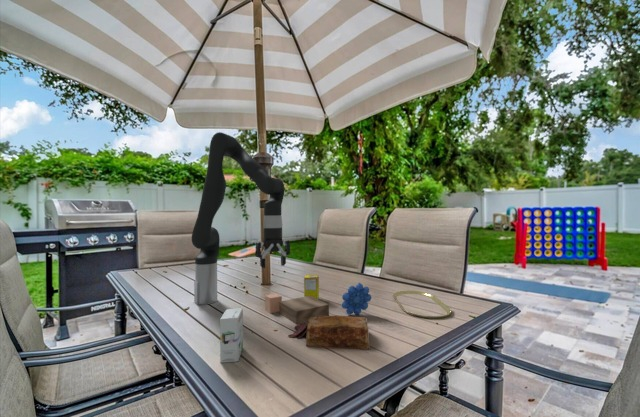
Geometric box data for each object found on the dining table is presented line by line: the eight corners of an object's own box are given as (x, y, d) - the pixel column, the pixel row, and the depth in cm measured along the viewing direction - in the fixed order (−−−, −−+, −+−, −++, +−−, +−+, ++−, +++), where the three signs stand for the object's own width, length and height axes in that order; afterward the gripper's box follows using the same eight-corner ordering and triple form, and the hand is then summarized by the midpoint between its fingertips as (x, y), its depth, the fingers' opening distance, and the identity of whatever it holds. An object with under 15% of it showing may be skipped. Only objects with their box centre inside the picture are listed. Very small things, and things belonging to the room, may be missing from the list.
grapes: (368, 310, 119) (368, 280, 119) (373, 316, 112) (372, 284, 113) (340, 311, 118) (339, 281, 118) (342, 317, 111) (342, 285, 112)
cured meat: (293, 325, 105) (293, 305, 105) (364, 326, 103) (364, 306, 103) (283, 349, 87) (283, 326, 87) (369, 352, 85) (369, 328, 85)
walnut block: (296, 325, 105) (296, 311, 105) (279, 314, 117) (279, 301, 117) (328, 317, 113) (328, 304, 113) (309, 307, 124) (309, 295, 124)
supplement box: (319, 298, 136) (318, 274, 136) (317, 302, 130) (317, 277, 130) (306, 298, 137) (306, 274, 137) (304, 302, 131) (304, 277, 131)
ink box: (226, 348, 87) (226, 308, 87) (243, 347, 88) (243, 307, 88) (219, 363, 79) (219, 318, 79) (238, 362, 79) (238, 317, 79)
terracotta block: (270, 313, 117) (270, 298, 117) (265, 310, 121) (265, 295, 121) (281, 311, 119) (281, 296, 120) (276, 307, 124) (276, 293, 124)
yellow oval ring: (408, 320, 109) (408, 316, 109) (389, 293, 144) (389, 290, 144) (459, 320, 109) (459, 316, 109) (428, 293, 144) (428, 290, 144)
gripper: (284, 225, 128) (284, 263, 127) (252, 227, 120) (253, 267, 120) (292, 226, 121) (293, 266, 121) (259, 227, 113) (260, 270, 113)
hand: (273, 266), depth 120 cm, fingers open, 8 cm apart
